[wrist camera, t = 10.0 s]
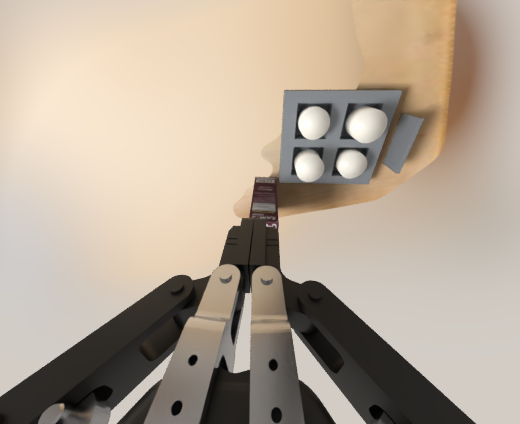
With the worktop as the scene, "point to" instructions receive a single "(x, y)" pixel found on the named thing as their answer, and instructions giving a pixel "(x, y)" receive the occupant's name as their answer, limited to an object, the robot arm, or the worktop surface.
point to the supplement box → (265, 201)
